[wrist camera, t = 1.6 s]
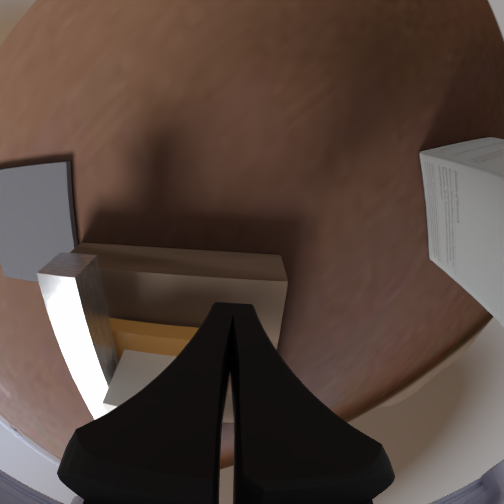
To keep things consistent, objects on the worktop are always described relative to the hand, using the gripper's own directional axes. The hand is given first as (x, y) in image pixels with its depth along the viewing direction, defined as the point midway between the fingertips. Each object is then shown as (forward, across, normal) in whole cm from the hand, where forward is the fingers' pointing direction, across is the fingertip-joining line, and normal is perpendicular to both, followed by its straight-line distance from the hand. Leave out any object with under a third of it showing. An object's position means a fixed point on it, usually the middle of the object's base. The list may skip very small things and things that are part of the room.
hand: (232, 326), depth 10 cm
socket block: (+6, +4, +6) cm, 10 cm away
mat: (+6, +14, -1) cm, 15 cm away
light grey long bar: (+3, +7, +5) cm, 9 cm away
